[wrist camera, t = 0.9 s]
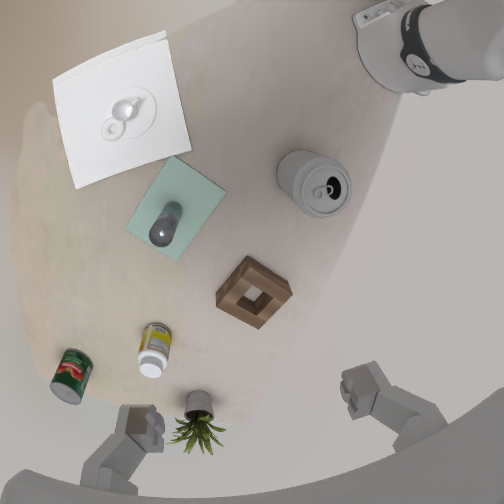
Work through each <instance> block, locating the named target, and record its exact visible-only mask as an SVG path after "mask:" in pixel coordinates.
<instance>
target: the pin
mask: <svg viewBox="0 0 504 504" xmlns="http://www.w3.org/2000/svg"><path fill="white" fill-rule="evenodd" d="M182 213H183V209H182V207H181V205H180V204H179V203H177V202H174V201H172V202H168V203H167V204H166V205H165V206H164V208H163V209H162V211H161V213H160V214H159V216H158V217H157V219H156V221H155V222H154V224H153V226H152V227H151V229H150V231H149V239H150V241H151V243H152V244H153V245H155V246H157V247H166V246H168V245H169V244H170V243H171V242H172V240H173V237H174V234H175V232H176V229H177V226H178V224H179V221H180V218H181V216H182Z"/></svg>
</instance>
